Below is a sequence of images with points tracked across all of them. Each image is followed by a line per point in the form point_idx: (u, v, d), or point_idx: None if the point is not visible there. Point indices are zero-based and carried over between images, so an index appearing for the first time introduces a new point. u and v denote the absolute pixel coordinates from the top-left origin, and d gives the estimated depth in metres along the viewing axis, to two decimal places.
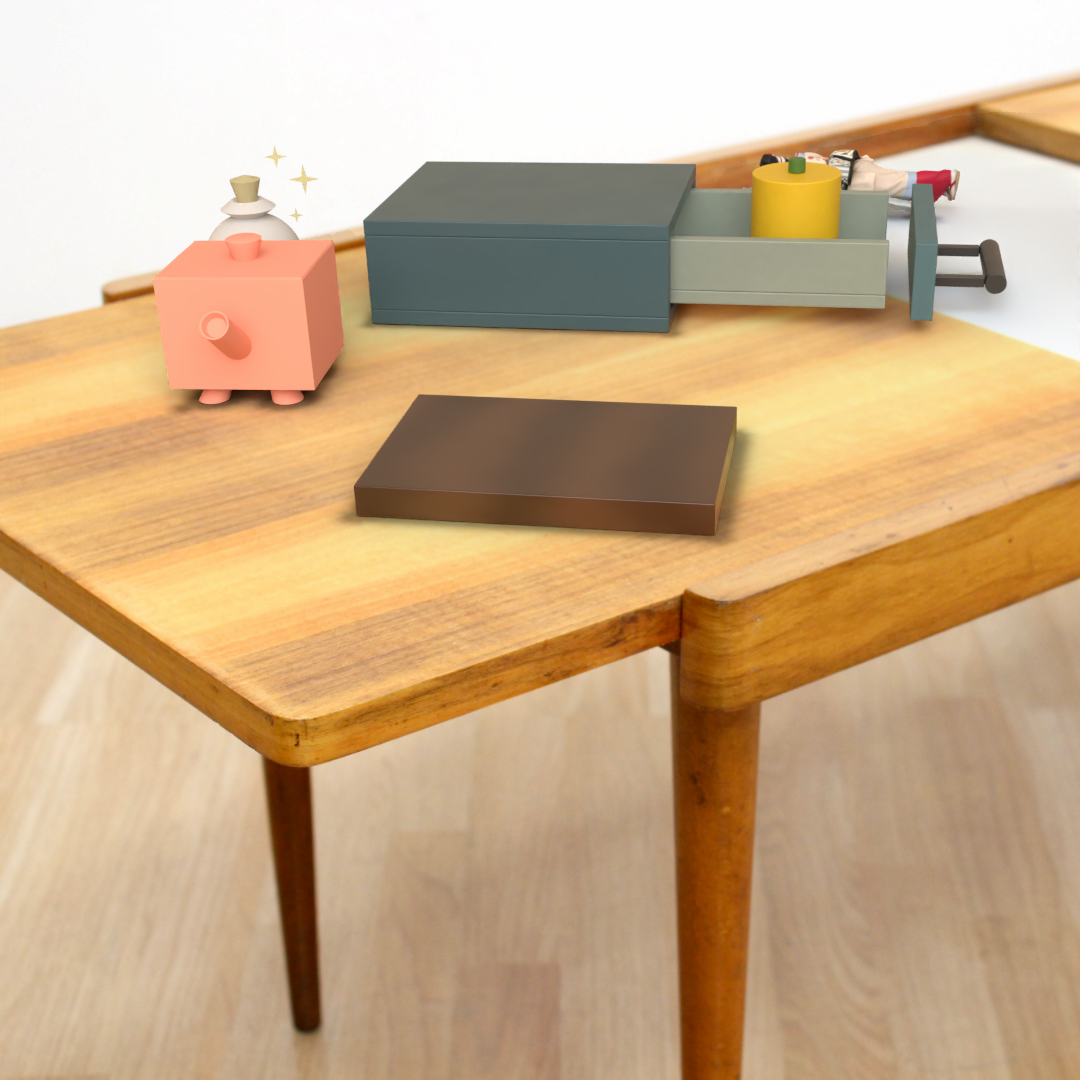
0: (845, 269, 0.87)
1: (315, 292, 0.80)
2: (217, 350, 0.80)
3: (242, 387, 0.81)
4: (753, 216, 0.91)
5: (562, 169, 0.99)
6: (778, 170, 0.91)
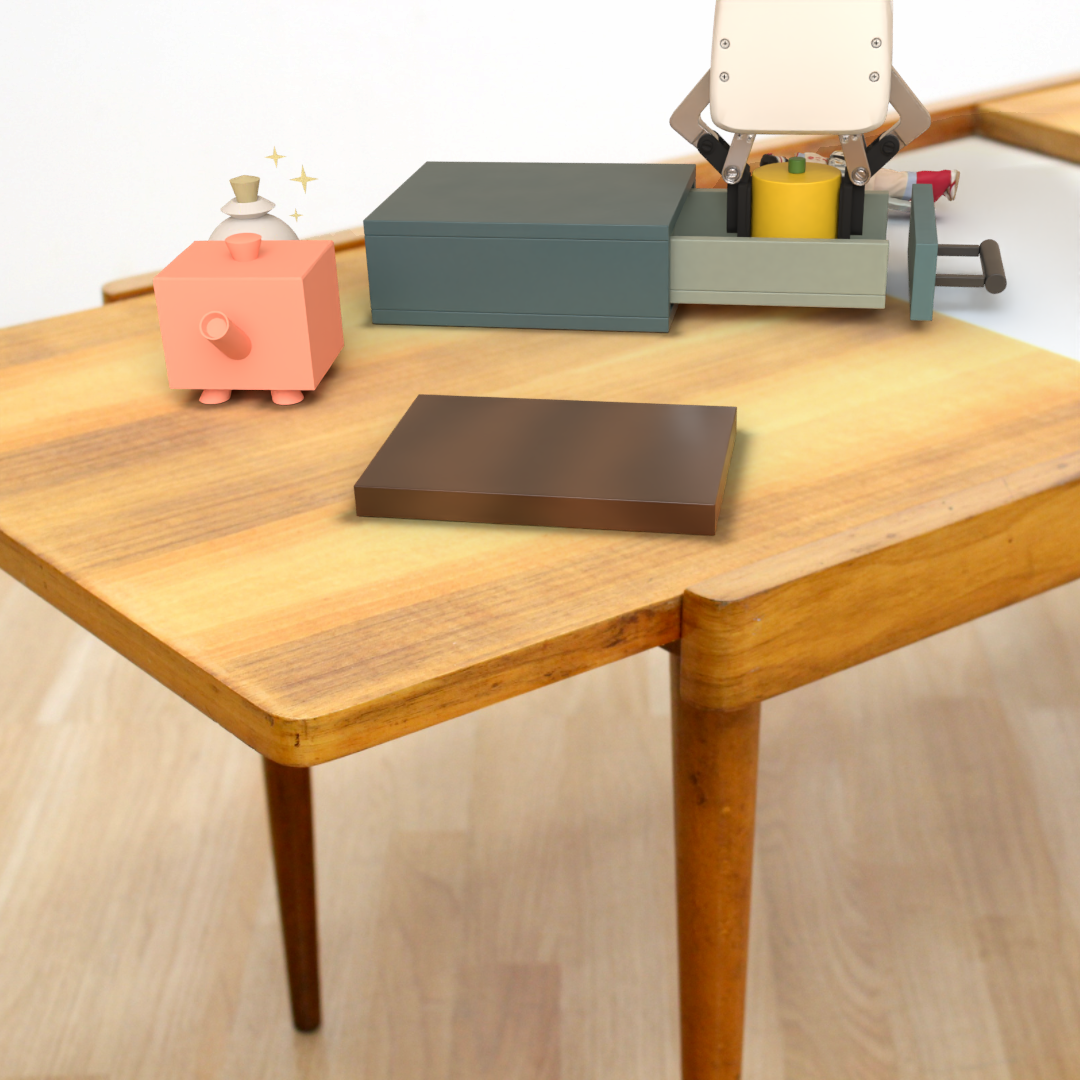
0: (845, 269, 0.87)
1: (315, 292, 0.80)
2: (217, 350, 0.80)
3: (242, 387, 0.81)
4: (753, 216, 0.91)
5: (562, 169, 0.99)
6: (778, 170, 0.91)
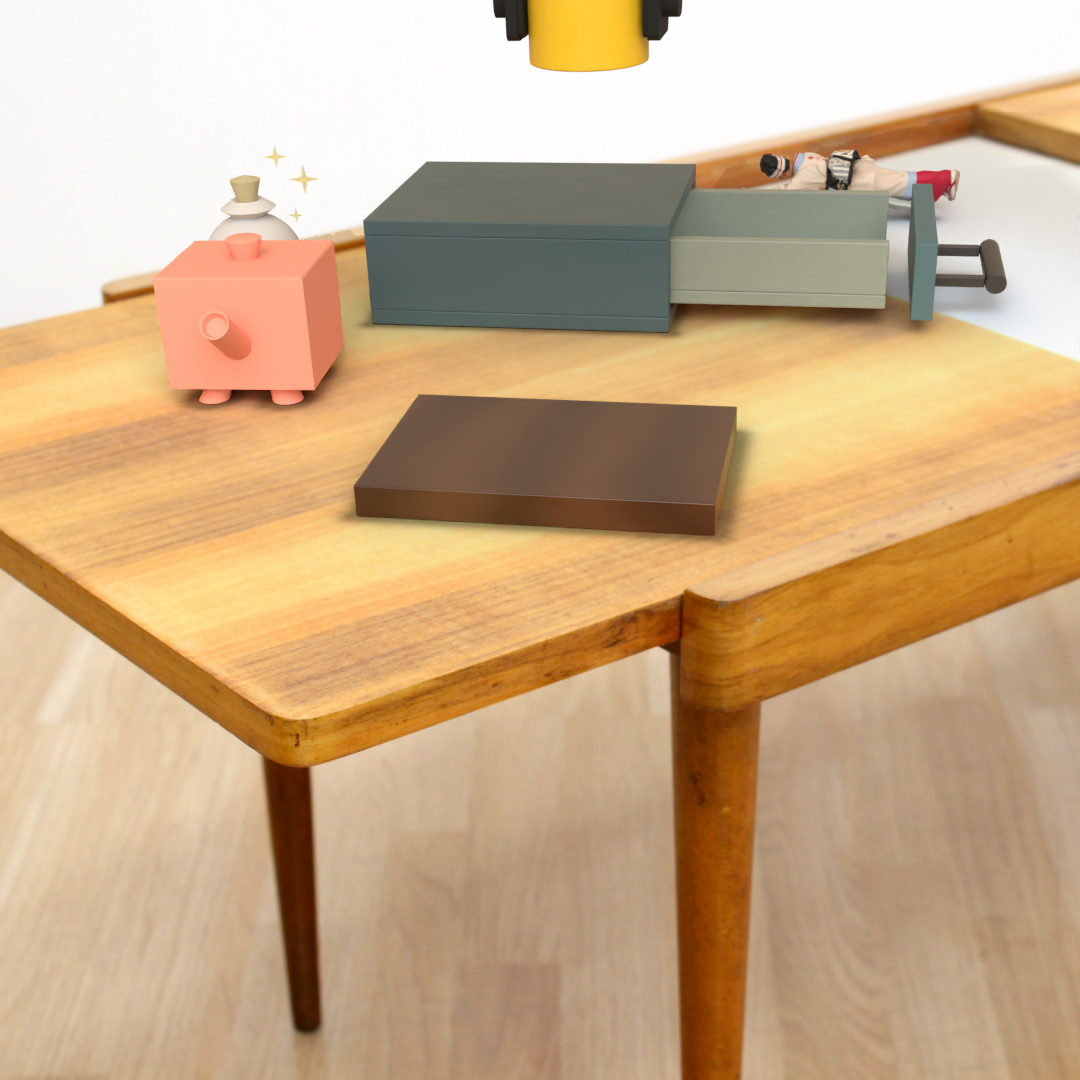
0: (845, 269, 0.87)
1: (315, 292, 0.80)
2: (217, 350, 0.80)
3: (242, 387, 0.81)
4: None
5: (562, 169, 0.99)
6: None
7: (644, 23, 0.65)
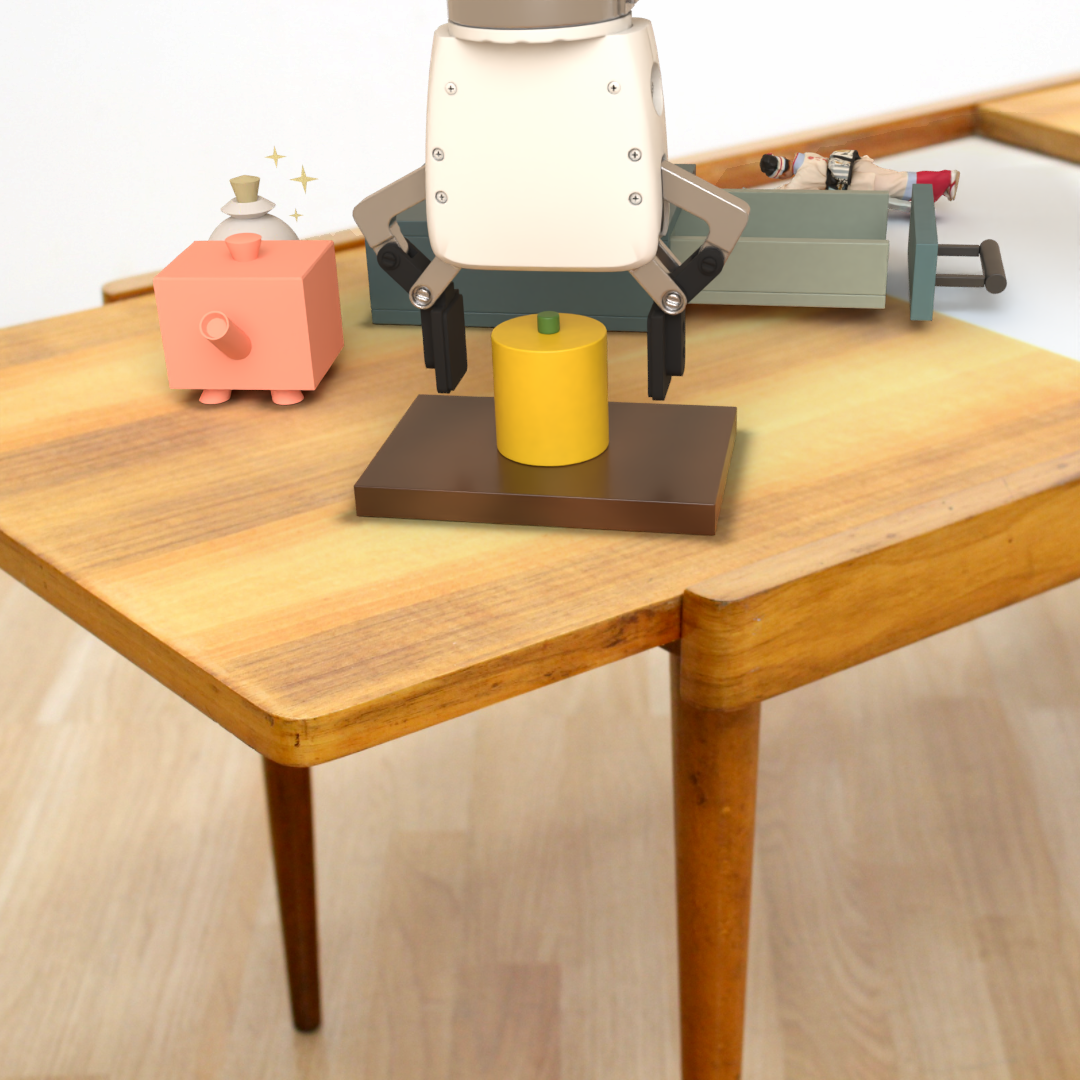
0: (845, 269, 0.87)
1: (315, 292, 0.80)
2: (217, 350, 0.80)
3: (242, 387, 0.81)
4: (494, 387, 0.70)
5: None
6: (526, 328, 0.70)
7: (649, 386, 0.68)
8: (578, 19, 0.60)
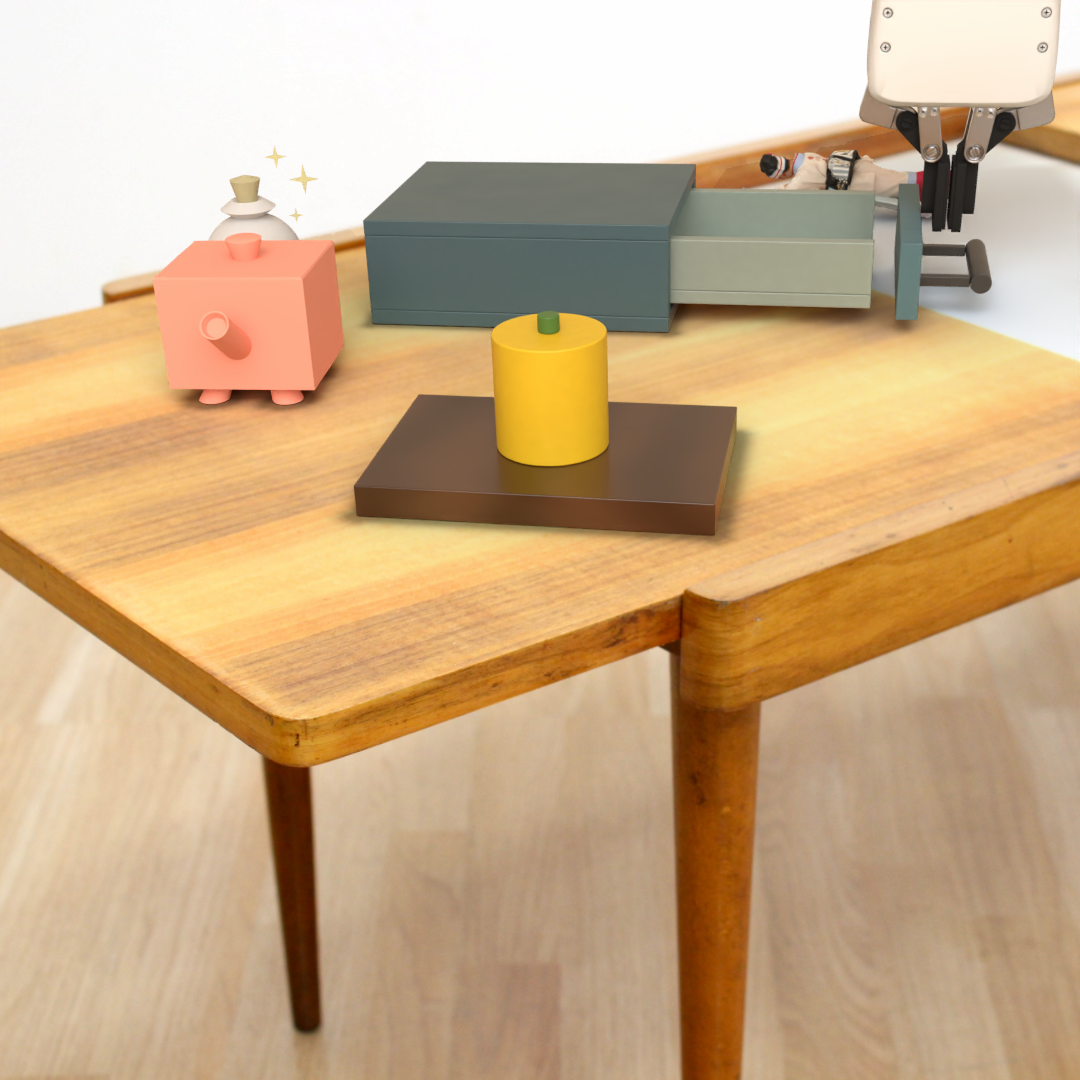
0: (830, 269, 0.87)
1: (315, 292, 0.80)
2: (217, 350, 0.80)
3: (242, 387, 0.81)
4: (494, 387, 0.70)
5: (562, 169, 0.99)
6: (526, 328, 0.70)
7: (950, 220, 0.89)
8: None
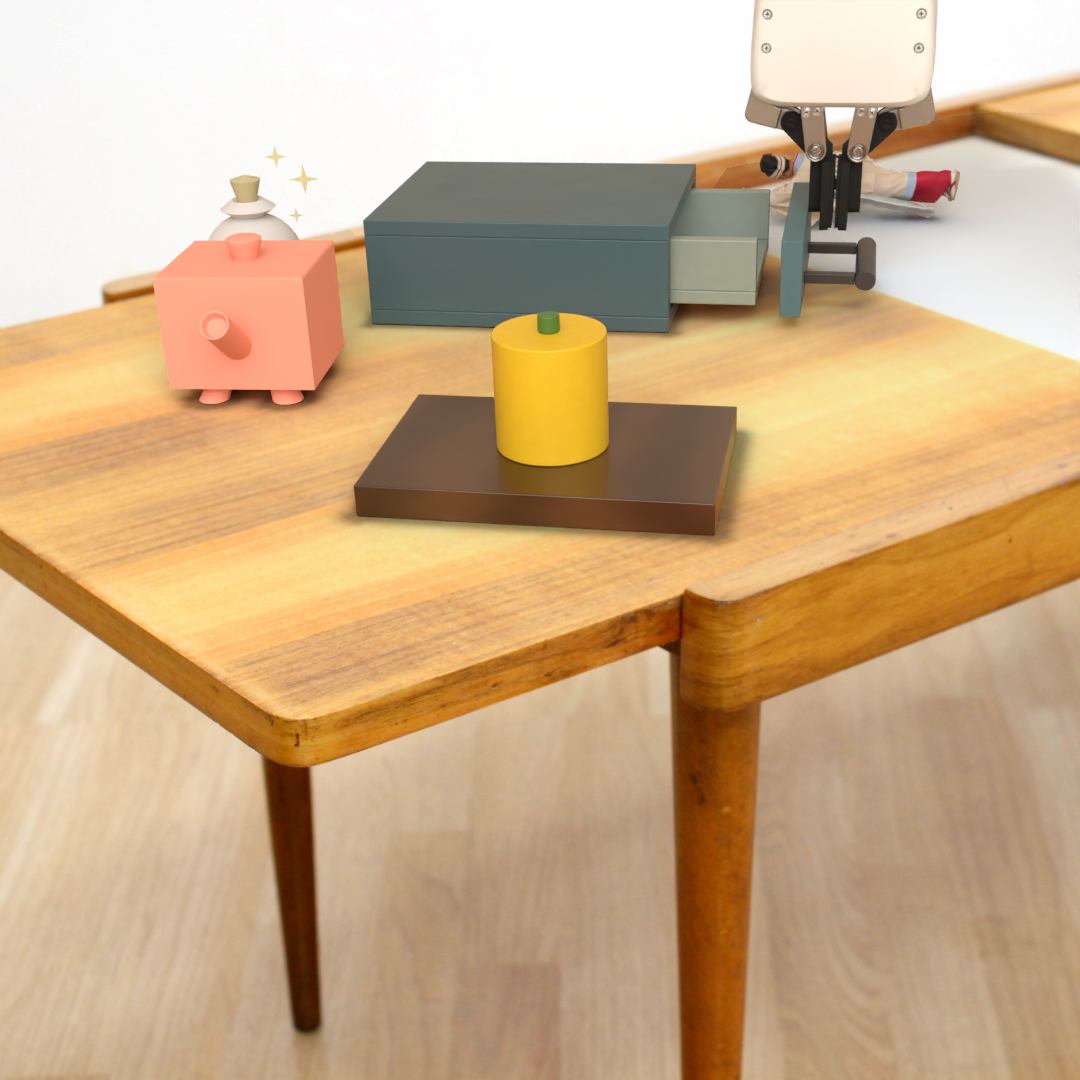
0: (715, 266, 0.88)
1: (315, 292, 0.80)
2: (217, 350, 0.80)
3: (242, 387, 0.81)
4: (494, 387, 0.70)
5: (562, 169, 0.99)
6: (526, 328, 0.70)
7: (836, 218, 0.90)
8: None
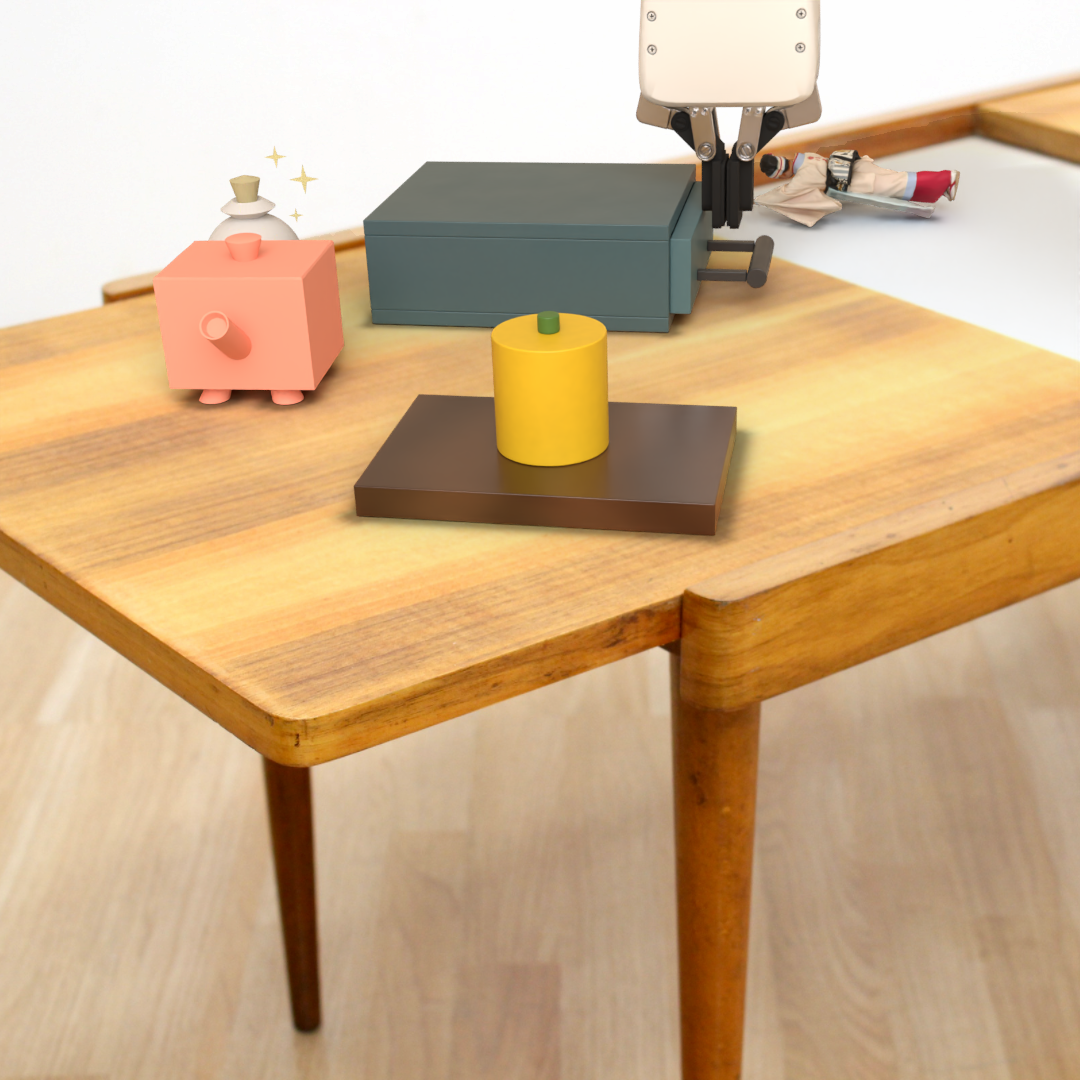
0: None
1: (315, 292, 0.80)
2: (217, 350, 0.80)
3: (242, 387, 0.81)
4: (494, 387, 0.70)
5: (562, 169, 0.99)
6: (526, 328, 0.70)
7: (727, 217, 0.91)
8: None
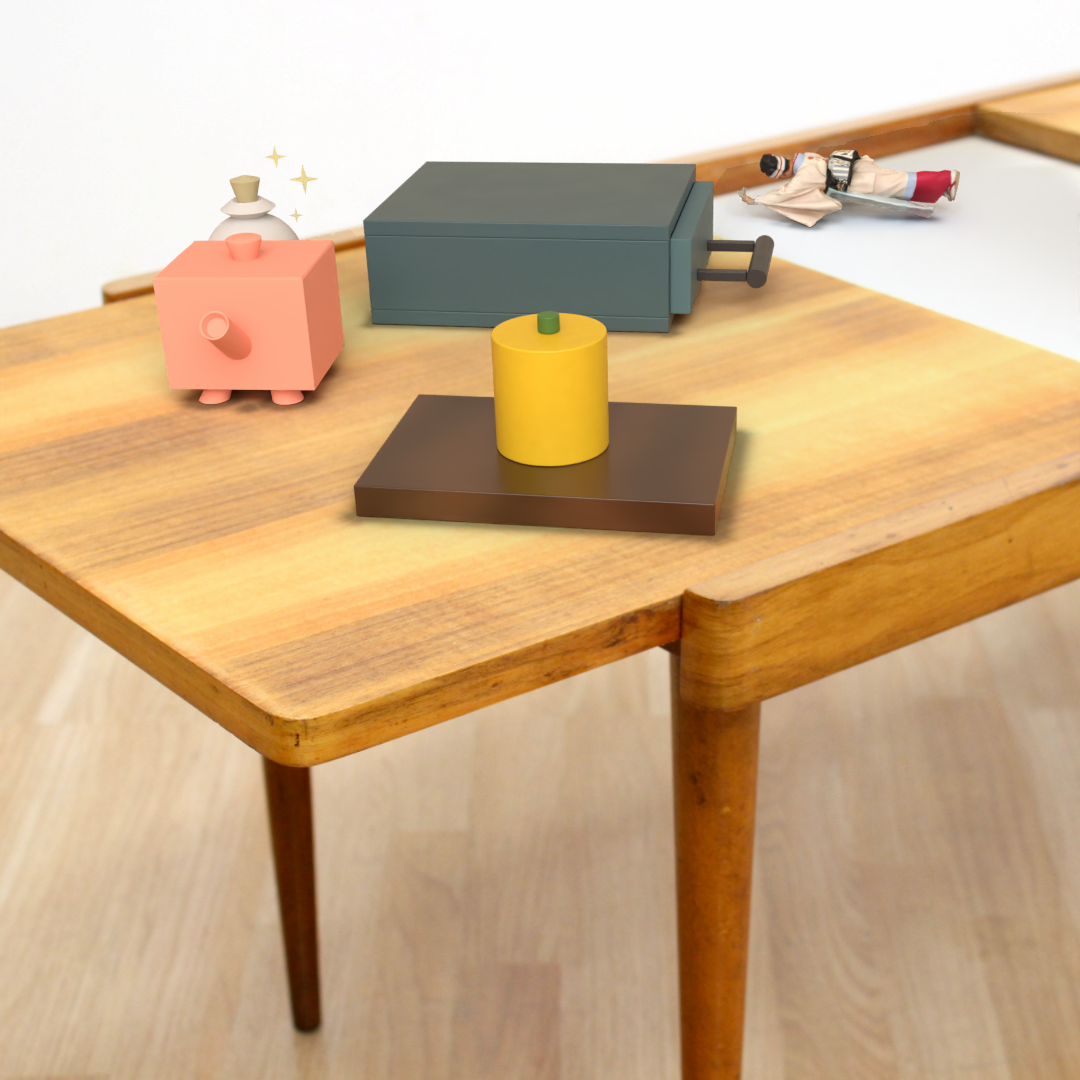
0: None
1: (315, 292, 0.80)
2: (217, 350, 0.80)
3: (242, 387, 0.81)
4: (494, 387, 0.70)
5: (562, 169, 0.99)
6: (526, 328, 0.70)
7: None
8: None
